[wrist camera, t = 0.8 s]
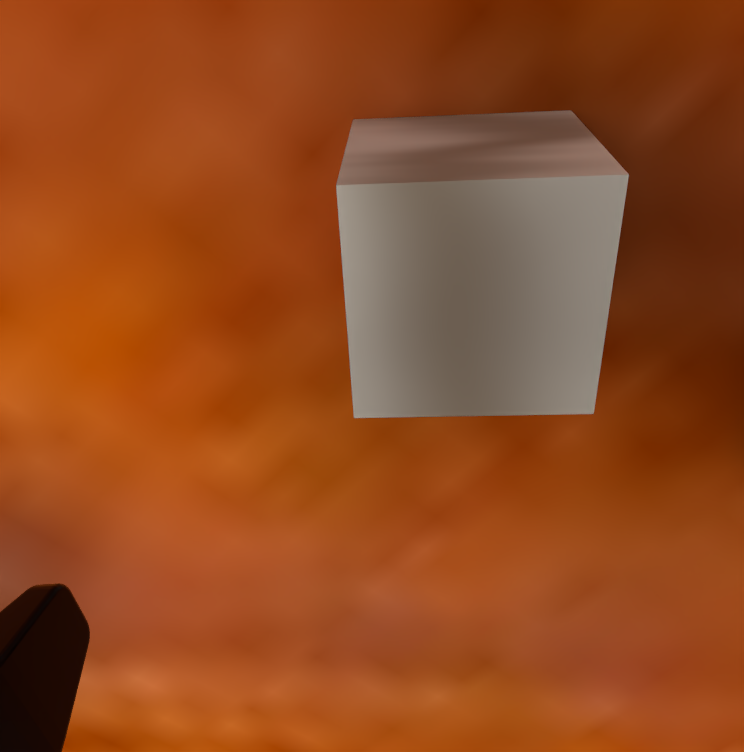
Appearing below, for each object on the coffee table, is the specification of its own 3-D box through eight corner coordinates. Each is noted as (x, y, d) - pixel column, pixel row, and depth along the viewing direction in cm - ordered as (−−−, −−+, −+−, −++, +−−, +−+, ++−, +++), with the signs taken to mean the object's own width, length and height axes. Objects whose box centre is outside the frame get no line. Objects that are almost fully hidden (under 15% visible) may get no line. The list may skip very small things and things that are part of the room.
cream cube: (570, 109, 16) (629, 174, 12) (551, 304, 19) (593, 413, 15) (353, 118, 16) (336, 185, 12) (365, 309, 19) (354, 417, 15)
